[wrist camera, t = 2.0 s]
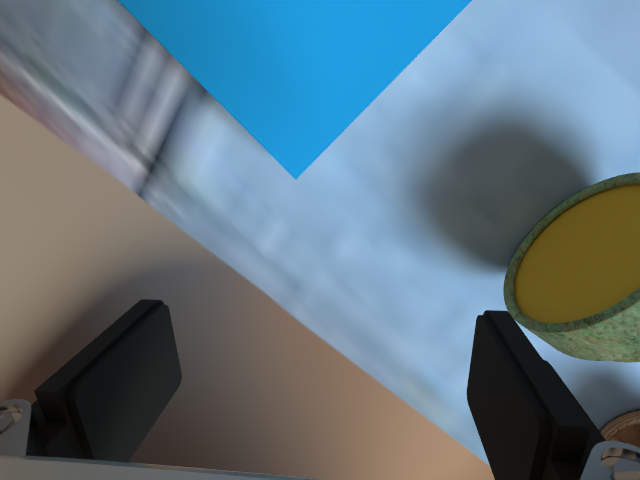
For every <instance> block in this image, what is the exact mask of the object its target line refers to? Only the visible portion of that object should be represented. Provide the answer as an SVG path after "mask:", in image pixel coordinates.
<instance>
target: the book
mask: <svg viewBox="0 0 640 480" xmlns="http://www.w3.org/2000/svg"><path fill="white" fill-rule="evenodd" d="M118 1H119V2H120V3H121V4H122V5H123V6H124V7H125V8H126V9H127V10H128V11H129V12H130V13H131V14H132V15H133V16H134V17H135V18H136V19H137V20H138V21H139V22H140V23H141V24H142V25H143V26H144V27H145V28H146V29H147V30H148V31H149V33H150V34H151V35H152V36H153V37H154V38H155V39H156V40H157V41H158V42H159V43H160V44H161V45H162V46H163V47H164V48H165V49H166V50H167V51H168V52H169V53H170V54H171V55H172V56H173V57H174V58H175V59H176V60H177V61H178V62H179V63H180V64H181V65H182V66H183V67H184V68H185V69H186V70H187V71H188V72H189V73H190V74H191V75H192V76H193V77H194V78H195V79H196V80H197V81H198V82H199V83H200V84H201V85H202V86H203V87H204V88H205V89H206V90H207V91H208V92H209V93H210V94H211V95H212V96H213V97H214V98H215V99H216V100H217V101H218V102H219V103H220V104H221V105H222V106H223V107H224V108H225V109H226V110H227V111H228V112H229V113H230V114H231V115H232V116H233V117H234V118H235V119H236V120H237V121H238V122H239V123H240V124H241V125H242V126H243V127H244V128H245V129H246V130H247V131H248V132H249V133H250V134H251V135H252V136H253V137H254V138H255V139H256V140H257V141H258V142H259V143H260V144H261V145H262V146H263V147H264V148H265V149H266V150H267V151H268V152H269V153H270V154H271V155H272V156H273V157H274V158H275V159H276V160H277V161H278V162H279V163H280V164H281V165H282V166H283V167H284V168H285V169H286V170H287V171H288V172H289V173H290V174H291V176H292V177H293V178H294V179H295V180H296V179H297V178H298V177H299V176H300V175H301V174H302V173H303V172H304V171H305V170H306V169H307V168H308V167H309V166H310V165H311V164H312V163H313V162H314V161H315V160H316V158H317V157H318V156H319V155H320V154H321V153H322V152H323V151H324V150H325V149H326V148H327V147H328V146H329V145H330V144H331V143H332V142H333V141H334V140H335V139H336V138H337V137H338V136H339V135H340V134H341V133H342V132H343V131H344V130H345V129H346V128H347V127H348V126H349V125H350V124H351V123H352V122H353V121H354V120H355V119H356V118H357V117H358V116H359V115H360V114H361V113H362V112H363V111H364V110H365V109H366V108H367V107H368V106H369V105H370V103H371V102H372V101H373V100H374V99H375V98H376V97H377V96H378V95H379V94H380V93H381V92H382V91H383V90H384V89H385V88H386V87H387V86H388V85H389V84H390V83H391V82H392V81H393V80H394V79H395V78H396V77H397V76H398V75H399V74H400V73H401V72H402V71H403V70H404V69H405V68H406V67H407V66H408V65H409V64H410V63H411V62H412V61H413V60H414V59H415V58H416V57H417V56H418V55H419V54H420V53H421V52H422V51H423V49H424V48H425V47H426V46H427V45H428V44H429V43H430V42H431V41H432V40H433V39H434V38H435V37H436V36H437V35H438V34H439V33H440V32H441V31H442V30H443V29H444V28H445V27H446V26H447V25H448V24H449V23H450V22H451V21H452V20H453V19H454V18H455V17H456V16H457V15H458V14H459V13H460V12H461V11H462V10H463V9H464V8H465V7H466V6H467V5H468V4H469V3H470V2H471V1H472V0H118Z"/></svg>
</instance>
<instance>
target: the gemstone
mask: <svg viewBox="0 0 640 480" xmlns="http://www.w3.org/2000/svg"><path fill="white" fill-rule="evenodd" d="M600 433H601V434H602V436H603V437H604V438H605V440H606V441H619V442H623V443H627V444H631V445H634V446H636V447H639V448H640V410H639V411H634V412H630V413H627V414H624V415H622V416H619V417H617V418H616V419H614V420H612V421H611V422H610V423H608V424H607V425H606V426H605V427H604V428H603V429H602V431H601V432H600Z"/></svg>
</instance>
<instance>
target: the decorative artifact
mask: <svg viewBox="0 0 640 480" xmlns="http://www.w3.org/2000/svg"><path fill="white" fill-rule="evenodd" d="M504 300H505V304H506V307H507V310H508V311H509V313H510V315H511V316H512V317H513V318H514V319H515V320H516V321H517V322H518V323H519V324H521V325H522V326H524V327H525V328H526V329H528V330H529V331H531V332H532V333H534V334H535V335H537V336H538V337H539V338H541V339H542V340H544V341H545V342H547V343H548V344H550V345H551V346H552V347H554V348H555V349H557V350H558V351H560V352H562V353H564V354H566V355H569V356H572V357H575V358H579V359H585V360H594V361H617V362H640V173H630V174H625V175H620V176H616V177H612V178H609V179H606V180H603V181H601V182H598V183H596V184H594V185H592V186H589V187H587V188H585V189H583V190H582V191H580V192H578V193H576V194H574V195H573V196H571V197H570V198H568V199H567V200H565V201H564V202H562V203H561V204H559V205H558V206H557V207H556V208H554V209H553V210H552V211H551V212H549V213H548V214H547V215H546V216H545V217H544V218H543V219H542V220H541V221H540V222H539V223H538V224H537V225H536V226H535V227H534V228H533V229H532V230H531V231H530V232H529V234H528V235H527V236H526V237H525V239H524V240H523V241H522V243H521V244H520V246H519V247H518V249H517V250H516V252H515V254H514V256H513V258H512V260H511V262H510V264H509V267H508V269H507V273H506V276H505V281H504Z"/></svg>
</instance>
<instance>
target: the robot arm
mask: <svg viewBox="0 0 640 480" xmlns="http://www.w3.org/2000/svg"><path fill="white" fill-rule="evenodd" d="M181 378H182V374H181V369H180V363H179V358H178V353H177V348H176V343H175V338H174V333H173V327H172V323H171V317H170V312H169V308H168V306H167V305H164V303H163V302H162V301H161V300H146V299H143V300H140V301H139V302H138V303H137V304H135V305H134V306H133V307H132V308H131V309H130V310H128V311H127V312H126V313H125V314H124V315H122V316H121V317H120V318H119V319H118V320H116V321H115V322H114V323H113V324H112V325H111V326H110V327H108V328H107V329H106V330H105V331H104V332H102V333H101V334H100V335H99V336H98V337H97V338H95V339H94V340H93V341H92V342H91V343H90V344H88V345H87V346H86V347H85V348H84V349H82V350H81V351H80V352H79V353H78V354H77V355H75V357H73V358H72V359H71V360H70V361H69V362H67V363H66V364H65V365H64V366H63V367H61V368H60V369H59V370H58V371H57V372H56V373H54V374H53V375H52V376H51V377H50V378H48V379H47V380H46V381H45V382H44V383H43V384H42V385H40V386H39V387H38V388H37V389H36V390H35V394H36V396H37V399H38V400H37V401H36V402H34V403H33V404H32V405H31V404H30V403H29V402H27V401H26V400H19V399H16V400H7V401H4V402H1V403H0V480H321V479H311V478H300V477H289V476H278V475H267V474H256V473H245V472H232V471H222V470H210V469H199V468H188V467H176V466H163V465H151V464H139V463H128V462H129V461H130V459H131V458H132V456H133V455H134V453H135V452H136V450H137V449H138V447H139V445H140V444H141V443H142V441H143V440H144V438H145V437H146V435H147V434H148V432H149V431H150V429H151V428H152V426H153V425H154V423H155V421H156V420H157V419H158V417H159V416H160V414H161V413H162V411H163V410H164V408H165V407H166V405H167V404H168V402H169V401H170V399H171V398H172V396H173V395H174V393H175V392H176V390H177V389H178V387H179V385H180V383H181ZM467 400H468V405H469V407H470V410H471V413H472V416H473V419H474V422H475V424H476V427H477V430H478V433H479V436H480V439H481V441H482V444H483V447H484V450H485V453H486V456H487V458H488V461H489V464H490V467H491V470H492V472H493V475H494V478H495V480H640V448H639V447H636V446H634V445H631V444H627V443H623V442H619V441H606V440H605V438H604V437H603V436H602V434H601V433H600V431H599V430H598V429H597V427H596V426H595V425H594V423H593V422H592V421H591V419H590V418H589V416H588V415H587V414H586V412H585V411H584V410H583V408H582V407H581V406H580V404H579V403H578V401H577V400H576V399H575V397H574V396H573V395H572V393H571V392H570V390H569V389H568V388H567V386H566V385H565V384H564V382H563V381H562V380H561V378H560V377H559V375H558V374H557V373H556V371H555V370H554V369H553V367H552V366H551V365H550V364H549V363H548V362H547V361H545V360H543V359H542V358H541V357H540V355H539V354H538V352H537V351H536V350H535V348H534V347H533V345H532V344H531V343H530V341H529V340H528V338H527V337H526V336H525V334H524V333H523V331H522V330H521V329H520V327H519V326H518V324H517V323H516V322H515V320H514V319H513V317H512V316H511V315H510V313H509V312H508V311H491V310H486V311H485V312H484V314H483V315H478V316H477V320H476V327H475V334H474V341H473V349H472V356H471V364H470V371H469V379H468V386H467Z"/></svg>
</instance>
